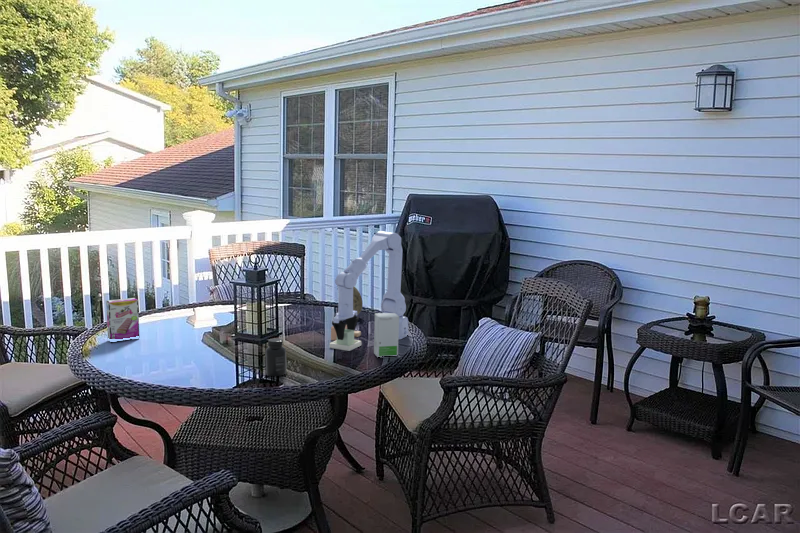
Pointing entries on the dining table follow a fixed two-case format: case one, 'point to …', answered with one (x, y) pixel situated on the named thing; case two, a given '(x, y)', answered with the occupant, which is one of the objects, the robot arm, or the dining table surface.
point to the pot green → (347, 338)
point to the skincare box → (386, 334)
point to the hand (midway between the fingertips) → (345, 337)
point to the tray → (345, 347)
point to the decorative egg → (357, 301)
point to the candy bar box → (122, 318)
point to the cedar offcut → (357, 333)
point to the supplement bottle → (275, 358)
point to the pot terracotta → (334, 333)
